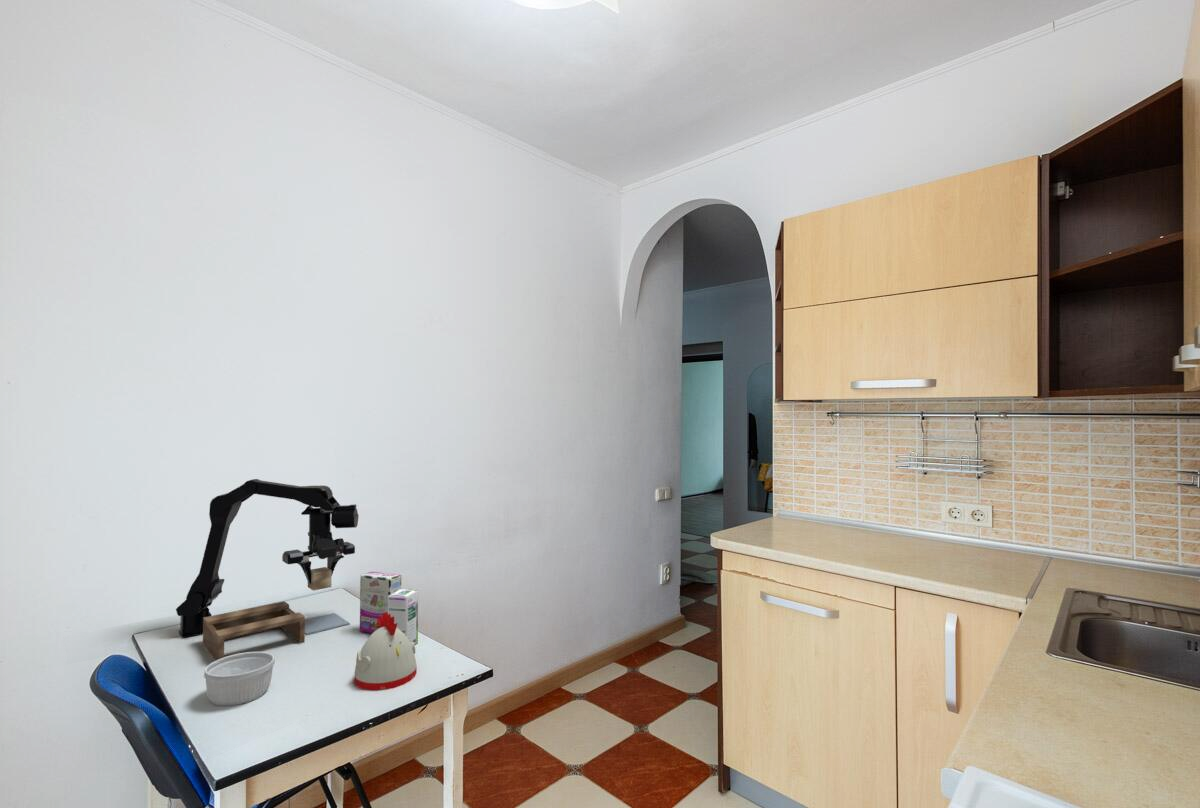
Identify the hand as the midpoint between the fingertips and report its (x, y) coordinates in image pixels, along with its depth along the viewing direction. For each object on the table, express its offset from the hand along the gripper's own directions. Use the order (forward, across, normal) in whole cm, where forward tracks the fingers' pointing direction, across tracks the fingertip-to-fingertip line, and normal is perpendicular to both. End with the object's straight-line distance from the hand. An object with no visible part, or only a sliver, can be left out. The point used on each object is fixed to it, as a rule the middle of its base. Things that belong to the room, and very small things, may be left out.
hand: (319, 581), depth 168 cm
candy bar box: (+13, +11, -18) cm, 24 cm away
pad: (+13, +1, 0) cm, 13 cm away
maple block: (+2, 0, 0) cm, 2 cm away
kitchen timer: (+13, 0, -46) cm, 48 cm away
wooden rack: (+13, -17, -2) cm, 22 cm away
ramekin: (+13, -27, -32) cm, 44 cm away
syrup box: (+13, +11, -32) cm, 36 cm away
